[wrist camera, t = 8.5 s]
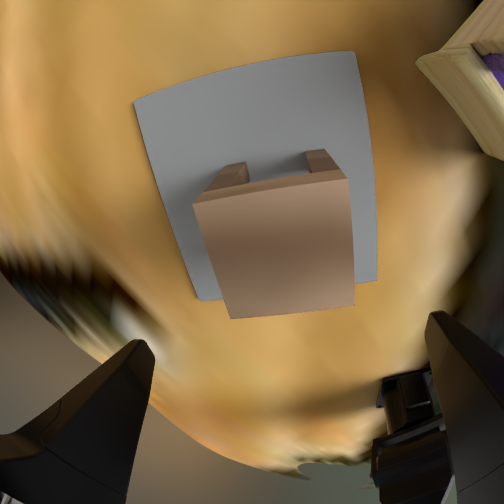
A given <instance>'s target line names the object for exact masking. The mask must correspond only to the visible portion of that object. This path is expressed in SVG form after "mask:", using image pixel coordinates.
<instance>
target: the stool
mask: <svg viewBox="0 0 504 504" xmlns="http://www.w3.org/2000/svg"><path fill="white" fill-rule="evenodd" d="M305 156H306V161H307V167H308V172H309V174H302V175H295V176H289V177H282V178H276V179H270V180H264V181H259V182H253V183H249V181H250V176H249V172H248V168H247V164H246V161H245V162H240V163H235V164H231V165H227V166H226V167H225V168H224V169H223V170H222V171H221V172H220V174H219V175H218V176H217V177H216V178H215V179H214V180H213V181H212V182H211V183H210V185H209V186H208V187H207V188H206V189H205V190H204V191H203V193H202V194H201V195H200V196H199V197H198V198H197V199H196V201H195V202H194V203H193V204H192V205H193V208H194V211H195V215H196V218H197V221H198V224H199V227H200V230H201V234H202V237H203V240H204V243H205V246H206V249H207V252H208V255H209V258H210V261H211V264H212V267H213V270H214V273H215V276H216V279H217V282H218V285H219V288H220V290H221V293H222V296H223V299H224V302H225V305H226V308H227V310H228V313H229V316H230V319H238V318H251V317H262V316H273V315H283V314H293V313H302V312H311V311H319V310H327V309H334V308H342V307H349V306H355V278H354V249H353V231H352V217H351V205H350V194H349V184H348V178H347V177H346V175H345V174H344V173H343V172H342V170H341V169H340V168H339V166H338V165H337V164H336V163H335V161H334V160H333V159H332V157H331V156H330V155H329V154H328V152H327V151H326V150H325V149H318V150H310V151H305Z"/></svg>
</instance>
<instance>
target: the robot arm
mask: <svg viewBox="0 0 504 504" xmlns="http://www.w3.org/2000/svg"><path fill="white" fill-rule="evenodd" d="M425 341H426V346H427V350H428V355H429V360H430V365H431V368H429V369H425V370H421V371H417V372H412V373H408V374H403V375H399V376H394V377H389V378H385V379H383V380H382V381H381V386H380V390H379V394H378V398H377V402H376V408H383V407H384V411H385V417H386V423H387V429H388V435H386V436H384V437H381V438H375V439H373V445H372V462H371V471H370V478H371V479H372V480H374V484H375V486H376V488H378V489H379V492H380V493H379V494H380V502H381V503H382V504H444V503H445V501H446V499H447V497H448V494H449V492H450V490H451V487H452V485H453V482H454V480H455V483H456V492H457V503H458V504H504V357H503V356H502V355H501V354H500V353H498V352H497V351H496V350H495V349H493V348H492V347H491V346H490V345H488V344H487V343H486V342H485V341H483V340H482V339H481V338H479V337H478V336H477V335H476V334H474V333H473V332H472V331H470V330H469V329H468V328H466V327H465V326H464V325H462V324H461V323H460V322H458V321H457V320H456V319H454V318H453V317H452V316H450V315H449V314H447V313H446V312H445V311H443V310H438V311H434V312H431V313H430V314H429V316H428V321H427V325H426V329H425ZM154 366H155V356H154V354H153V352H152V351H151V349H150V348H149V346H148V345H147V343H146V342H145V341H144V340H142V339H134V340H132V341H130V342H129V343H128V344H127V345H125V346H124V347H123V348H122V349H120V350H119V351H118V352H117V353H115V354H114V355H113V356H112V357H110V358H109V359H108V360H107V361H106V362H104V363H103V364H102V365H101V366H99V367H98V368H97V369H96V370H95V371H93V372H92V373H91V374H90V375H88V376H87V377H86V378H85V379H83V380H82V381H81V382H80V383H79V384H77V385H76V386H75V387H74V388H72V389H71V390H70V391H69V392H68V393H66V394H65V395H64V396H63V397H62V398H60V399H59V400H58V401H57V402H55V403H54V404H53V405H52V406H50V407H49V408H48V409H46V410H45V411H44V412H42V413H41V414H40V415H38V416H37V417H35V418H34V419H32V420H31V421H30V422H28V423H27V424H25V425H24V426H22V427H21V428H20V429H18V430H16V431H15V432H13V433H10V434H4V435H0V504H125V502H126V497H127V496H126V495H127V492H128V487H129V482H130V476H131V472H132V467H133V462H134V458H135V454H136V449H137V445H138V441H139V437H140V432H141V429H142V425H143V421H144V416H145V412H146V409H147V405H148V401H149V396H150V390H151V384H152V377H153V371H154ZM432 377H433V380H434V384H435V388H436V392H437V395H438V399H439V402H440V406H441V410H442V413H440V414H438V415H436V412H435V409H434V405H433V402H432V398H431V395H430V391H429V388H428V386H429V384H430V382H431V379H432ZM444 429H446V431H441V430H444Z"/></svg>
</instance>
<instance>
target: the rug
mask: <svg viewBox="0 0 504 504" xmlns="http://www.w3.org/2000/svg"><path fill="white" fill-rule="evenodd" d="M133 103H134V106H135V110H136V114H137V118H138V122H139V125H140V129H141V132H142V136H143V140H144V143H145V146H146V150H147V153H148V157H149V160H150V163H151V167H152V170H153V173H154V176H155V179H156V183H157V186H158V189H159V192H160V195H161V198H162V201H163V204H164V207H165V210H166V213H167V216H168V219H169V222H170V224H171V227H172V230H173V233H174V236H175V238H176V241H177V244H178V247H179V249H180V252H181V255H182V258H183V260H184V263H185V265H186V268H187V271H188V273H189V276H190V278H191V281H192V284H193V286H194V289H195V291H196V294H197V296H198V299H199V301H209V300H221V299H223V296H222V293H221V290H220V288H219V285H218V282H217V279H216V276H215V273H214V270H213V267H212V264H211V261H210V258H209V255H208V252H207V249H206V246H205V243H204V240H203V237H202V234H201V230H200V227H199V224H198V221H197V218H196V215H195V211H194V208H193V205H192V204H193V203H194V202H195V201H196V199H197V198H198V197H199V196H200V195H201V194H202V193H203V191H204V190H205V189H206V188H207V187H208V186H209V185H210V183H211V182H212V181H213V180H214V179H215V178H216V177H217V176H218V175H219V174H220V172H221V171H222V170H223V169H224V168H225V167H226V166H227V165H231V164H235V163H240V162H245V161H246V164H247V168H248V172H249V176H250V181H249V183H253V182H259V181H264V180H270V179H276V178H282V177H289V176H295V175H302V174H309V172H308V167H307V161H306V156H305V151H310V150H318V149H325V150H326V151H327V152H328V154H329V155H330V156H331V157H332V159H333V160H334V161H335V163H336V164H337V165H338V166H339V168H340V169H341V170H342V172H343V173H344V174H345V175H346V177H347V178H348V184H349V194H350V205H351V217H352V231H353V249H354V278H355V284H359V283H366V282H373V281H377V210H376V191H375V177H374V166H373V155H372V146H371V138H370V130H369V123H368V117H367V110H366V104H365V98H364V93H363V88H362V82H361V78H360V73H359V68H358V64H357V59H356V55H355V51H338V52H325V53H315V54H306V55H298V56H291V57H285V58H279V59H273V60H267V61H262V62H257V63H252V64H248V65H243V66H239V67H235V68H230V69H227V70H223V71H219V72H215V73H212V74H208V75H205V76H201V77H198V78H195V79H192V80H188V81H185V82H182V83H179V84H176V85H174V86H171V87H168V88H165V89H162V90H160V91H157V92H154V93H152V94H149V95H147V96H144V97H142V98H139V99H137V100H135V101H133Z"/></svg>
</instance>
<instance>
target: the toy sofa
mask: <svg viewBox="0 0 504 504" xmlns="http://www.w3.org/2000/svg"><path fill="white" fill-rule="evenodd" d="M415 64H416V66H417V67H418V69H419V70H420V71H421V72H422V73H423V74H424V75H425V76H426V77H427V78H428V79H429V80H430V82H431V83H432V84H433V85H434V86H435V87H436V88H437V90H438V91H439V92H440V93H441V94H442V96H443V97H444V98H445V99H446V100H447V102H448V103H449V104H450V105H451V107H452V108H453V109H454V111H455V112H456V113H457V115H458V116H459V117H460V119H461V120H462V121H463V123H464V124H465V125H466V127H467V128H468V129H469V131H470V132H471V134H472V135H473V136H474V138H475V139H476V141H477V142H478V144H479V145H480V147H481V149H482V150H483V151H484V152H485V153H486V154H488V155H490V156H493V157H496V158H498V159H501V160H503V161H504V0H483V1H482V3H481V4H480V5H479V6H478V7H477V8H476V10H475V11H474V12H473V13H472V14H471V15H470V17H469V18H468V19H467V20H466V21H465V22H464V23H463V24H462V26H461V27H460V28H459V29H458V30H457V31H456V32H455V34H454V35H453V36H452V37H451V38H450V39H449V40H448V42H447V43H446V44H445V45H444V46H443V47H442V48H441V49H440V50H439V51H436V52H433V53H429V54H426V55H423V56H421V57H419V58H418V59H417V60H416V62H415Z"/></svg>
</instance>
